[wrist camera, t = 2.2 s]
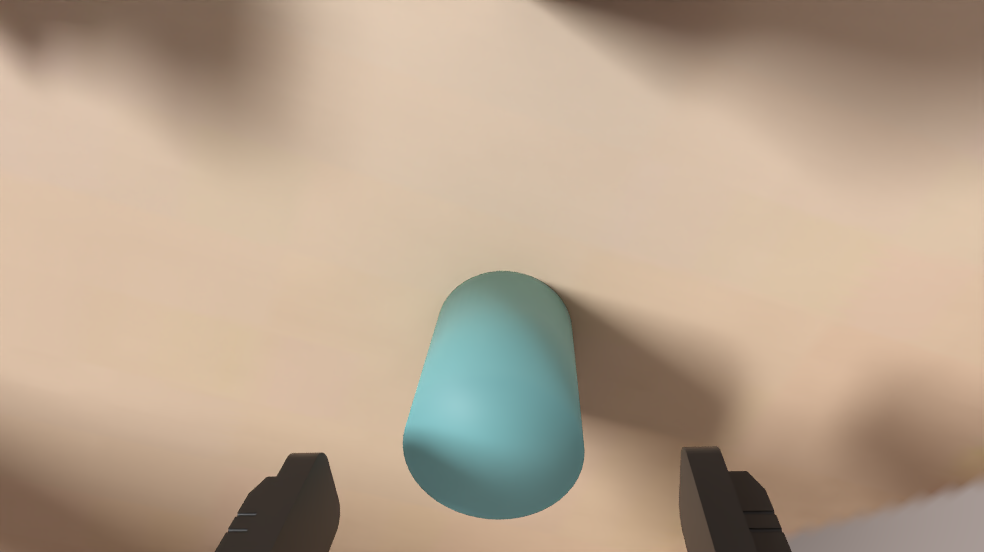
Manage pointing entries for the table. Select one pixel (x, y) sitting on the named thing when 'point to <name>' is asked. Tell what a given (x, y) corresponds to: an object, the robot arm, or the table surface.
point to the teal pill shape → (498, 401)
